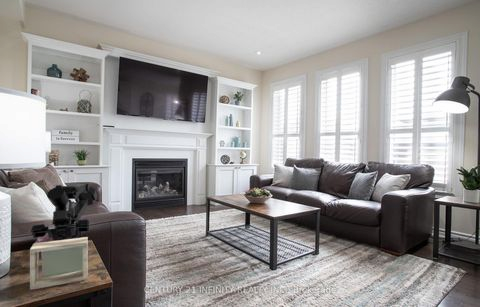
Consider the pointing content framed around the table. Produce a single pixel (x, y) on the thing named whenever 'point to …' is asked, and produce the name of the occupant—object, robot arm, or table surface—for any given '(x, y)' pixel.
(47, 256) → the door
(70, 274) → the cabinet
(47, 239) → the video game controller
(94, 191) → the robot arm
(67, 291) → the table surface
